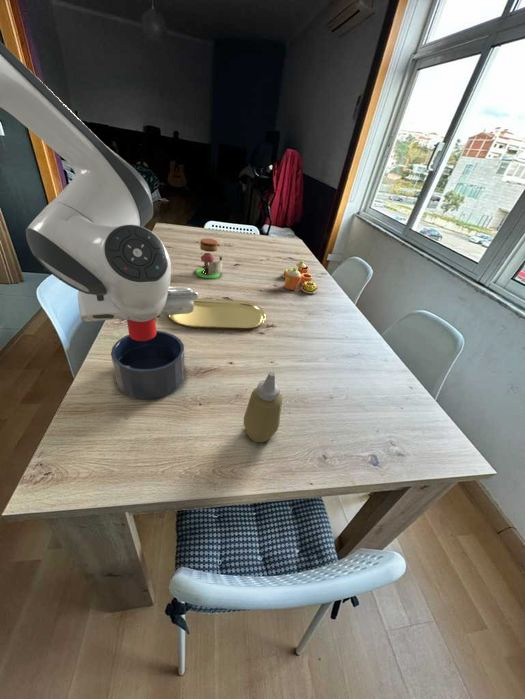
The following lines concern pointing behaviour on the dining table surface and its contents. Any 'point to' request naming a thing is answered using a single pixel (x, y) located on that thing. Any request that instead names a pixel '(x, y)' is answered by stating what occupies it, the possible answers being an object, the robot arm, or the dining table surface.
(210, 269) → the mushroom terrarium jar
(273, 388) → the squeeze bottle
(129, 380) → the pot
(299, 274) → the toy tea set
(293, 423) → the dining table surface
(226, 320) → the serving platter
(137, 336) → the disc
